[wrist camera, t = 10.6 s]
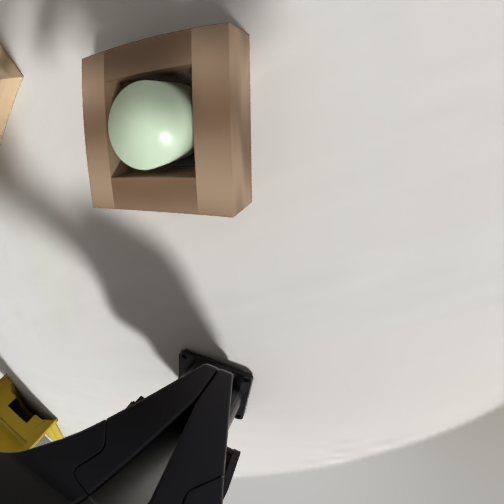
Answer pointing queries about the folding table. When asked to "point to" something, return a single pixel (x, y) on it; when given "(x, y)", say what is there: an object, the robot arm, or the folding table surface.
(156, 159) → the table button
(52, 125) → the folding table surface
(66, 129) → the folding table surface
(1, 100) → the wooden box
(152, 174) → the button housing
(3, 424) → the vintage telephone
